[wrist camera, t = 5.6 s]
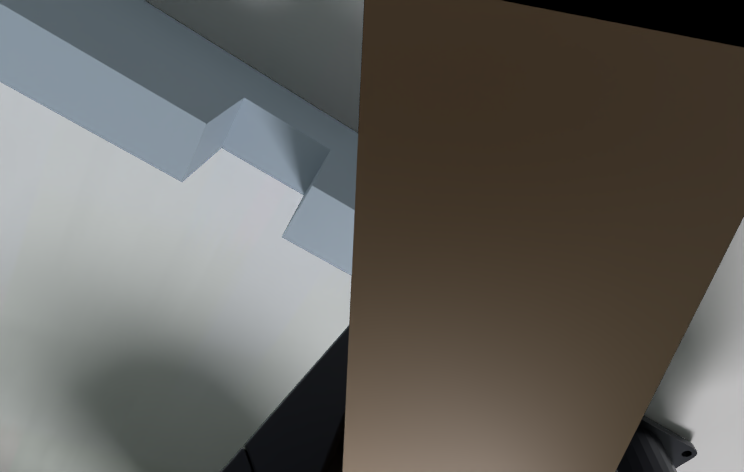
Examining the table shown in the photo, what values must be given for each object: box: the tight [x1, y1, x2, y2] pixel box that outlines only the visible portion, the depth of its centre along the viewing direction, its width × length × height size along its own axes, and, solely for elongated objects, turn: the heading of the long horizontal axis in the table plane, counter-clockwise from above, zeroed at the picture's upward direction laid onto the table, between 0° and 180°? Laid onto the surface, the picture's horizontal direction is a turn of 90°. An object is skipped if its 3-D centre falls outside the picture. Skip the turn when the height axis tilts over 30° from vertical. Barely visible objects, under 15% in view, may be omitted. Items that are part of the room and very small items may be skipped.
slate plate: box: [0, 0, 358, 276], centre depth 16 cm, size 20×2×6 cm, turn 59°
